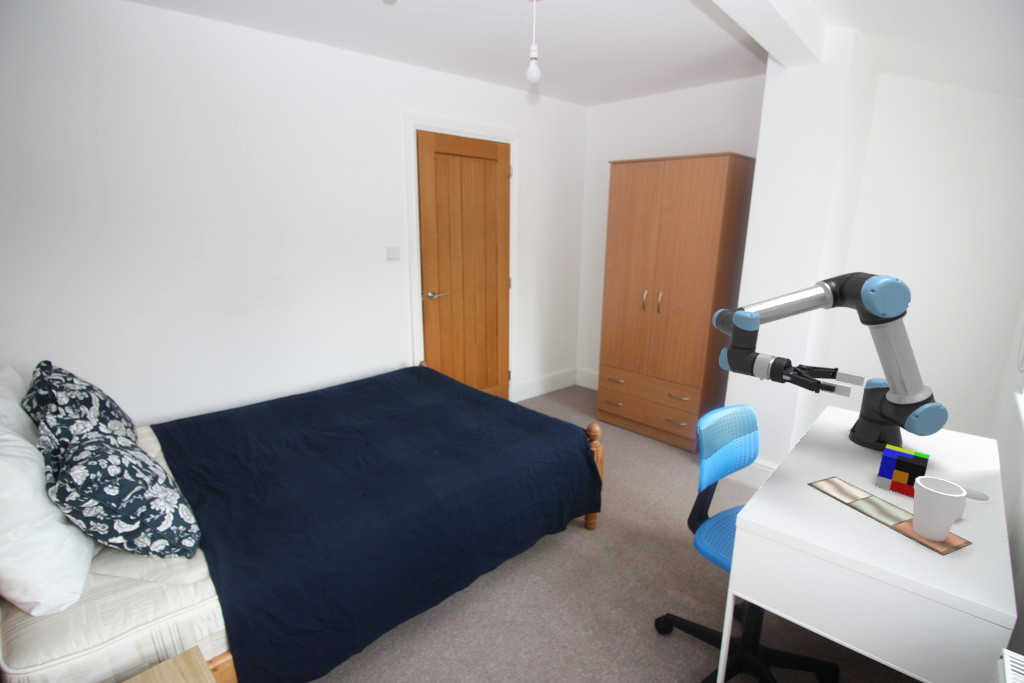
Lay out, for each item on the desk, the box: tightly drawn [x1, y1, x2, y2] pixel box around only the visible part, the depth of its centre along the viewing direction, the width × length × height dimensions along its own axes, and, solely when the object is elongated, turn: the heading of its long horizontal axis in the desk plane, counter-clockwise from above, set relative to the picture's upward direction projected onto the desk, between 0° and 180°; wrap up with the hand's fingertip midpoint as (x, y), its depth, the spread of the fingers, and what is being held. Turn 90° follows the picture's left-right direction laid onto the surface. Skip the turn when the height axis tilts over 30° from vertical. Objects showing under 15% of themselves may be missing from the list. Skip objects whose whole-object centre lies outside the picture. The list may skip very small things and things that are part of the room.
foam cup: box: [912, 475, 968, 541], centre depth 120 cm, size 10×9×13 cm
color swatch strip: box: [807, 476, 973, 556], centre depth 131 cm, size 12×34×1 cm, turn 23°
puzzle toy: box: [875, 444, 930, 499], centre depth 143 cm, size 10×10×10 cm
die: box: [954, 500, 967, 522], centre depth 129 cm, size 5×5×6 cm
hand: (857, 386), depth 132 cm, fingers open, 13 cm apart
